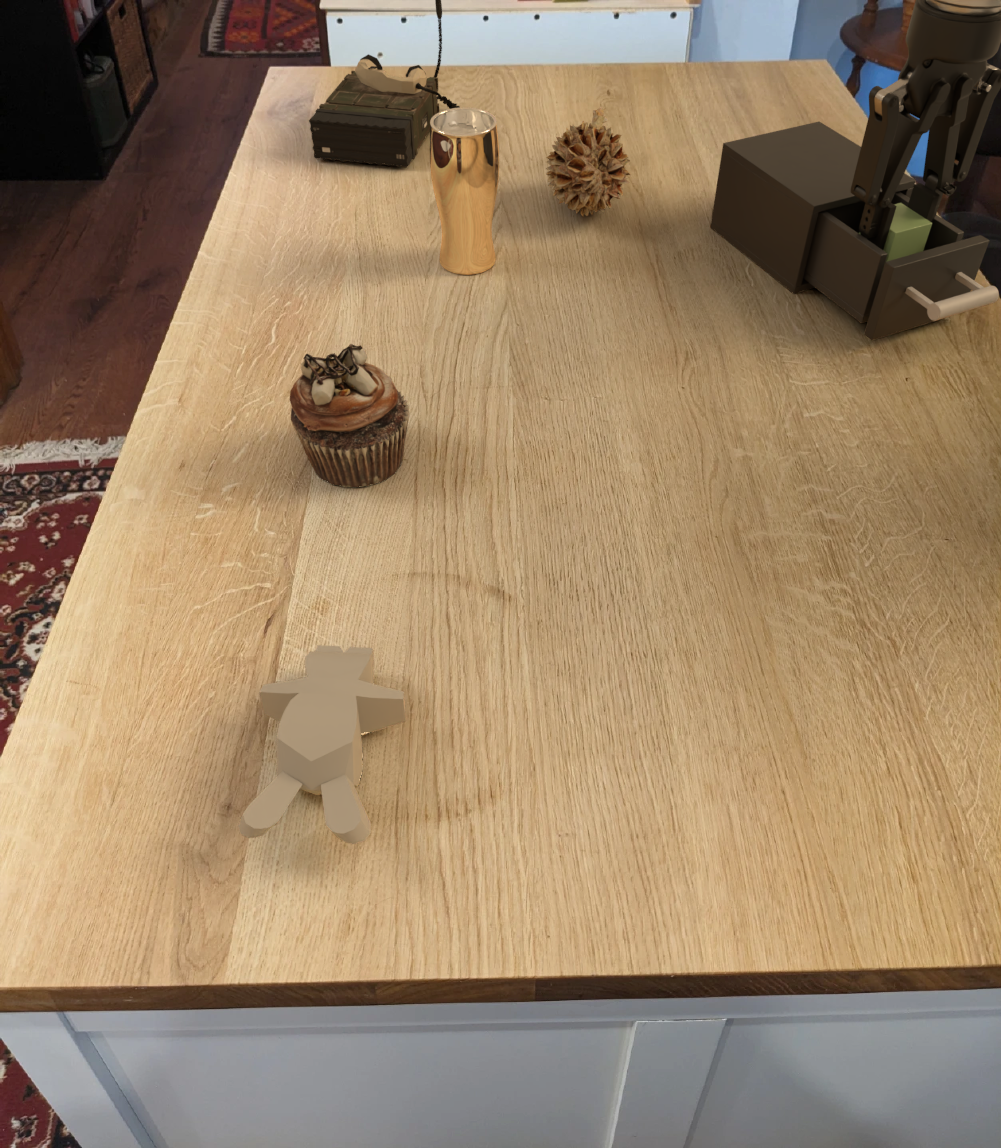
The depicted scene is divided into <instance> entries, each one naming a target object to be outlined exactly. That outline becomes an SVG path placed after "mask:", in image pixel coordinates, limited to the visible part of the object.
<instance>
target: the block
mask: <svg viewBox="0 0 1001 1148" xmlns="http://www.w3.org/2000/svg"><path fill="white" fill-rule="evenodd" d="M894 205H895V206H897V207H896V210H895V214H894V217H893V220H892V224H891V227H890V230H889V233H888V236H887V239H886V243H885V246H884V249H883V251H885V252H886V253H887V258H886V261H885V262H887V261H890V260H894V259H897V258H901V257H905V256H908V255H912V254H915V253H919V252H922V251H923V250H924V247H925V244H926V241H927V238H928V235H929V232H930V229H931V226H932V222H930V221H928V220H927V219H925V218H924V217H922V216H921V215H919V214H918V213H916V212H914V211H913V210H911V209H910V208H908V207H907V206H905V205H904V204H902V203H898V204H894ZM859 234H861V233H860V232H859ZM884 265H885V264H884ZM883 269H884V268H883ZM882 272H883V271H882ZM881 275H882V274H881Z"/></svg>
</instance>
